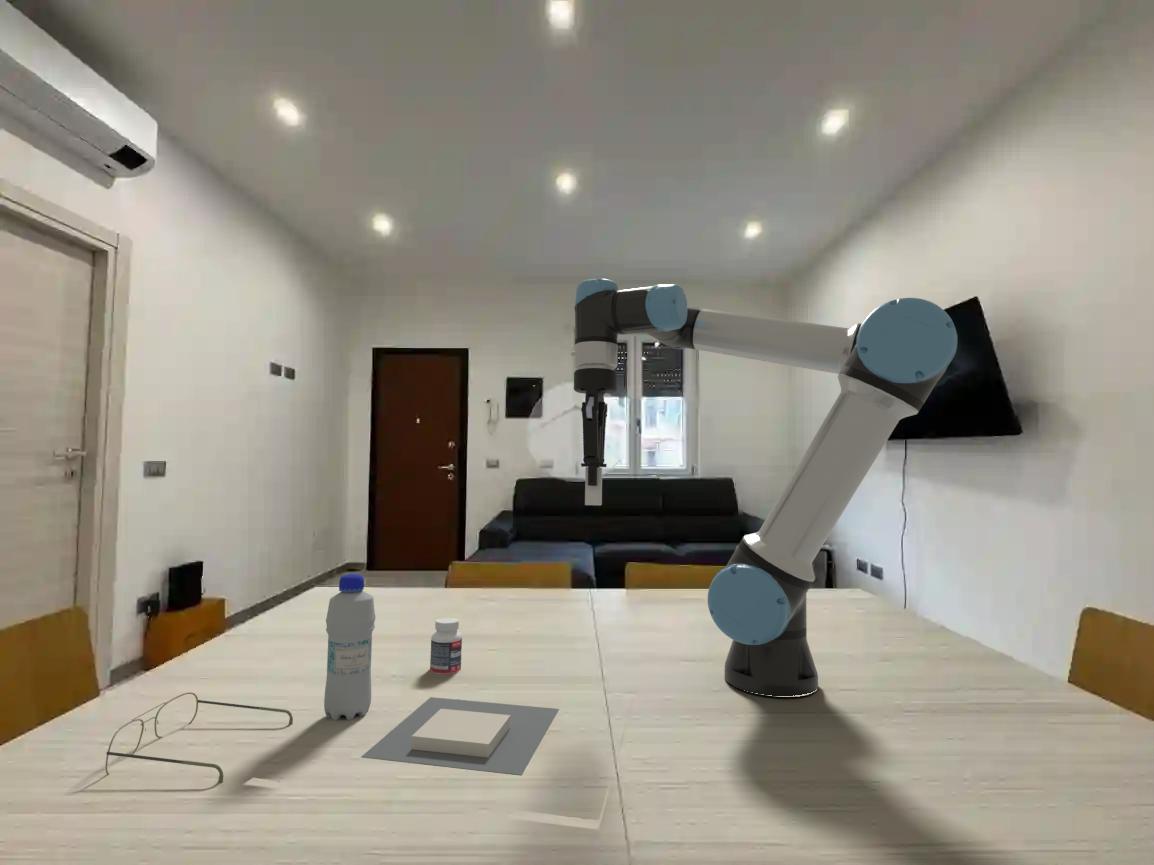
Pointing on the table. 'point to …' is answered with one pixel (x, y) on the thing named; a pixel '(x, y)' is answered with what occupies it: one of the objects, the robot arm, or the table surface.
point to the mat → (505, 758)
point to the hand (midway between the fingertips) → (593, 504)
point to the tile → (461, 733)
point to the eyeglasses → (189, 723)
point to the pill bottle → (446, 647)
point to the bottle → (349, 649)
